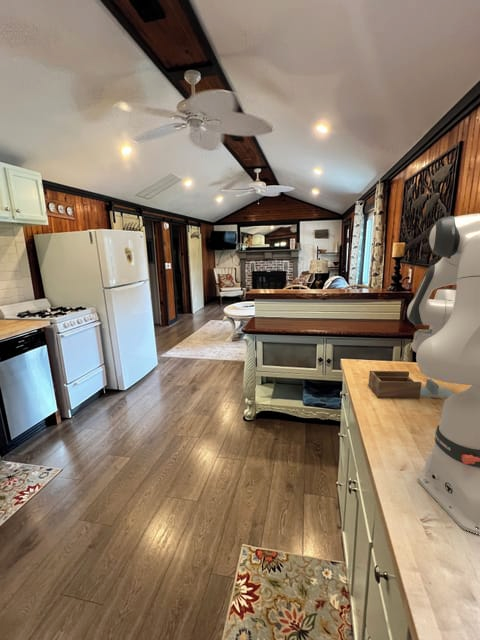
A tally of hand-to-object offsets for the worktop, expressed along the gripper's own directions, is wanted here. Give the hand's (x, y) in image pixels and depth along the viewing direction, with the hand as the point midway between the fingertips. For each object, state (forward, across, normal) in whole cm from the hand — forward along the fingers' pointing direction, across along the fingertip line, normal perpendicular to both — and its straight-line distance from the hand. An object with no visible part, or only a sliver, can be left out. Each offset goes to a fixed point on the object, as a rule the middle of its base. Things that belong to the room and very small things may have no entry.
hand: (437, 363), depth 122 cm
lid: (+14, +1, +1) cm, 14 cm away
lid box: (+13, -16, +1) cm, 21 cm away
